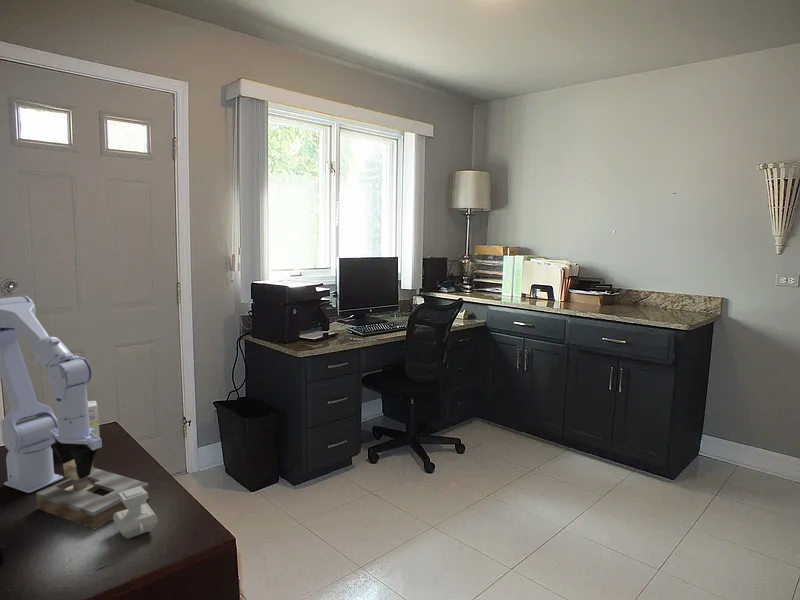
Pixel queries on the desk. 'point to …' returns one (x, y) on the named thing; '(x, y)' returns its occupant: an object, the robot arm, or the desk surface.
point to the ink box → (93, 417)
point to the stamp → (134, 513)
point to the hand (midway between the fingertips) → (77, 474)
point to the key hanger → (77, 478)
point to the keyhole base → (80, 515)
